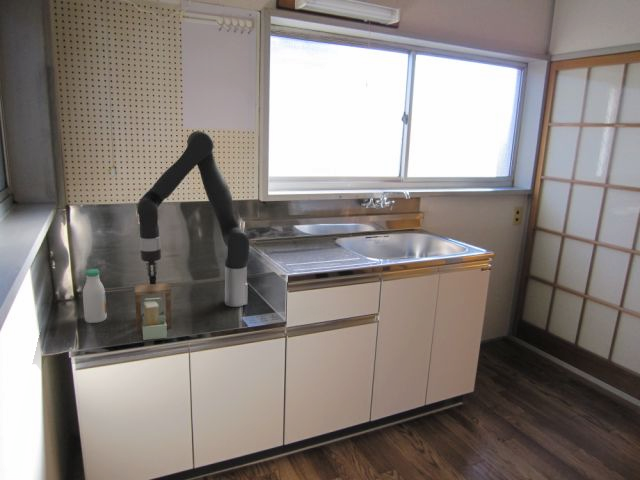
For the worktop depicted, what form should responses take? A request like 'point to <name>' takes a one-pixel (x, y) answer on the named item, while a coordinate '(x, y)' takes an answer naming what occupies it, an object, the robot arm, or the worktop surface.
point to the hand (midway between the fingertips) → (153, 288)
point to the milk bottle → (94, 298)
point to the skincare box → (151, 313)
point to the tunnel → (153, 290)
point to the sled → (155, 330)
